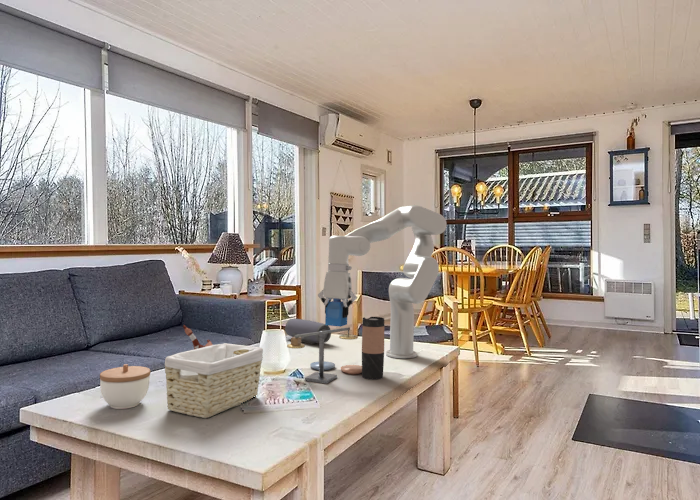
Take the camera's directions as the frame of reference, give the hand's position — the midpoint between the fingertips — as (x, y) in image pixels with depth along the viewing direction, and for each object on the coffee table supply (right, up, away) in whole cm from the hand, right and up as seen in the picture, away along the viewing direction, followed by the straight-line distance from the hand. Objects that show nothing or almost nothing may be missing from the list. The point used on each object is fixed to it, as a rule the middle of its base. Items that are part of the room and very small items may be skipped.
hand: (336, 316), depth 183 cm
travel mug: (+13, -19, -16) cm, 28 cm away
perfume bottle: (0, -3, 0) cm, 3 cm away
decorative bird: (-45, -18, -19) cm, 52 cm away
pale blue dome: (-5, -18, -5) cm, 19 cm away
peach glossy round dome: (+6, -18, -10) cm, 22 cm away
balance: (-5, -18, -20) cm, 28 cm away
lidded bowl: (-57, -18, -49) cm, 77 cm away
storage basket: (-32, -18, -47) cm, 60 cm away
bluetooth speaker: (-14, -18, +41) cm, 47 cm away
